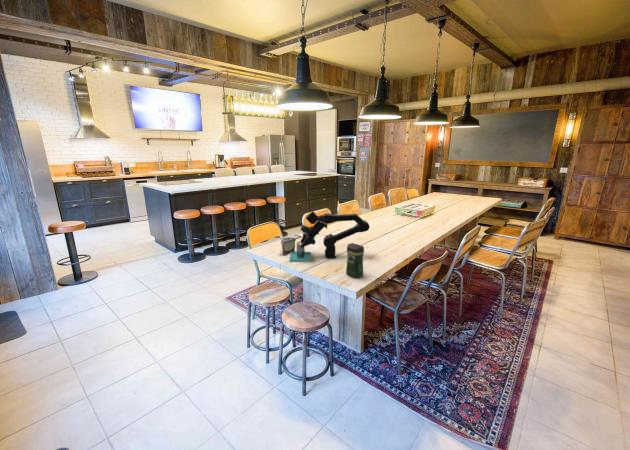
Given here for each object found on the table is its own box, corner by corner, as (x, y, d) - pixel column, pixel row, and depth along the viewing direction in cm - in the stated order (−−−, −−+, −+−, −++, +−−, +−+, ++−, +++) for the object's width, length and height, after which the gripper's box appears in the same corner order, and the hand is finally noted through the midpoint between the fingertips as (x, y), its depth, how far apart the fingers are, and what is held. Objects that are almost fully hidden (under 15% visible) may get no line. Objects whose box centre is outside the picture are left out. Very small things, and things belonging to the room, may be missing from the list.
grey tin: (306, 255, 196) (306, 242, 194) (301, 257, 192) (300, 244, 190) (300, 253, 199) (300, 241, 197) (295, 255, 195) (294, 242, 193)
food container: (289, 249, 212) (289, 236, 209) (296, 251, 208) (295, 237, 206) (277, 254, 203) (276, 240, 200) (283, 256, 199) (283, 242, 196)
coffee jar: (365, 275, 169) (366, 245, 165) (356, 279, 164) (357, 248, 160) (352, 270, 176) (353, 240, 172) (343, 274, 171) (344, 243, 167)
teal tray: (311, 254, 203) (311, 251, 202) (311, 261, 189) (311, 259, 189) (290, 254, 203) (290, 252, 202) (289, 261, 189) (289, 259, 189)
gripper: (305, 217, 199) (289, 234, 200) (310, 224, 181) (292, 242, 182) (316, 228, 203) (301, 244, 203) (322, 235, 185) (305, 253, 186)
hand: (300, 245), depth 194 cm, fingers open, 5 cm apart
